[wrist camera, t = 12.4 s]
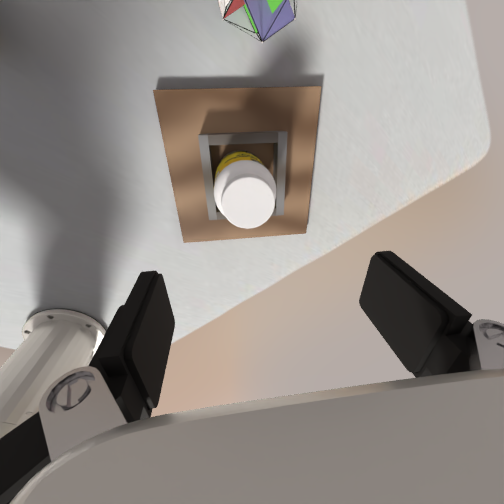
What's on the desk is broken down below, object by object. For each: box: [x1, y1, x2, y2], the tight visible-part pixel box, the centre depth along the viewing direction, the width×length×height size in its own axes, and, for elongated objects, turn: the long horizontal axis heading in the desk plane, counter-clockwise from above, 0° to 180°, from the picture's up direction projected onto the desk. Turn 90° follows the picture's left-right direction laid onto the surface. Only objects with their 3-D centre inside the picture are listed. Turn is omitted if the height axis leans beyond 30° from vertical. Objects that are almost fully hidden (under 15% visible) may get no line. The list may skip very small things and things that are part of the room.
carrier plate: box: [153, 86, 321, 243], centre depth 29 cm, size 18×18×4 cm
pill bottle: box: [214, 150, 276, 229], centre depth 25 cm, size 6×6×11 cm
